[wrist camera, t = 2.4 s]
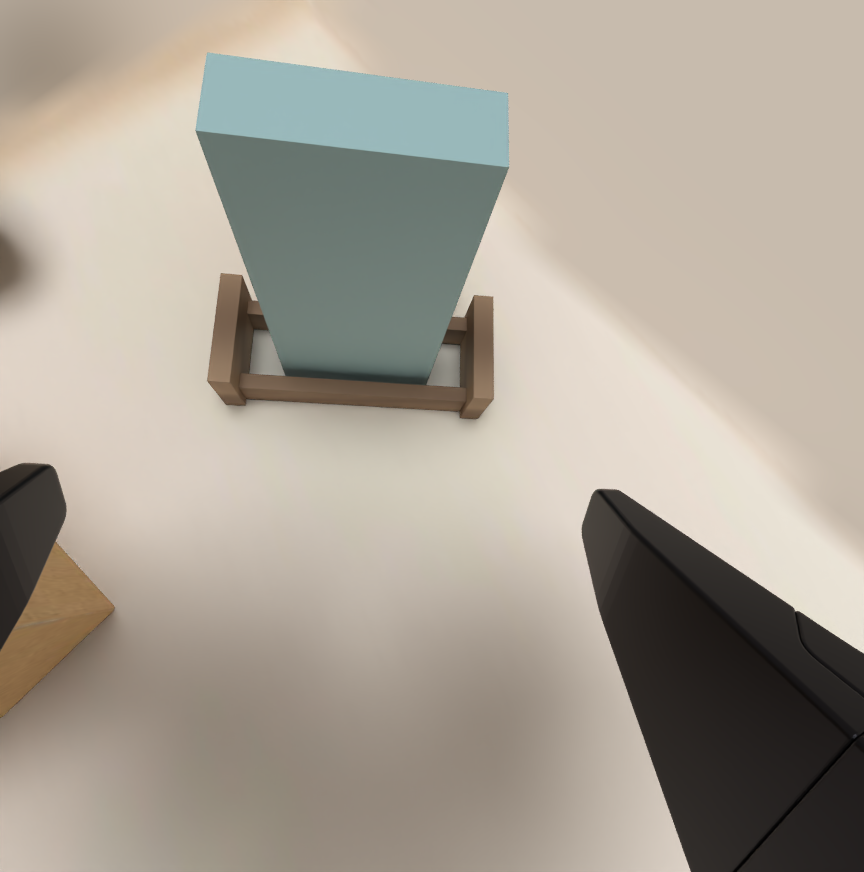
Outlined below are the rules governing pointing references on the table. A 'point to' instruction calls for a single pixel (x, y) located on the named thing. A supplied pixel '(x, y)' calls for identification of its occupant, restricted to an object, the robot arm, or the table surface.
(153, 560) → the table surface
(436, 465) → the table surface
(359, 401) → the rack
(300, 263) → the teal rectangular block
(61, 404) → the table surface
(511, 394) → the table surface
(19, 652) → the sandwich container
